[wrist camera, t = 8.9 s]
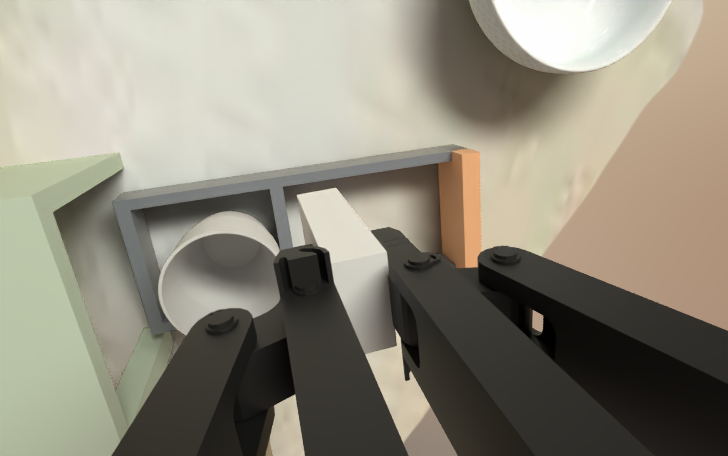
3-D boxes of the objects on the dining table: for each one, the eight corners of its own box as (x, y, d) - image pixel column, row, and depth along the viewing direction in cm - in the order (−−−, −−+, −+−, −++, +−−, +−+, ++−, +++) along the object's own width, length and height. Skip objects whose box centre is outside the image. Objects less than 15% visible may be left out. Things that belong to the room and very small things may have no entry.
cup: (165, 213, 36) (134, 257, 26) (261, 180, 37) (264, 212, 27) (205, 296, 39) (191, 363, 29) (293, 264, 40) (306, 318, 30)
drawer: (123, 192, 34) (103, 209, 29) (452, 144, 39) (479, 152, 35) (159, 316, 38) (146, 348, 33) (457, 257, 43) (481, 278, 38)
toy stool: (-62, 176, 31) (-296, 241, 18) (119, 152, 34) (31, 195, 20) (23, 374, 37) (-107, 537, 23) (173, 342, 39) (132, 475, 26)
